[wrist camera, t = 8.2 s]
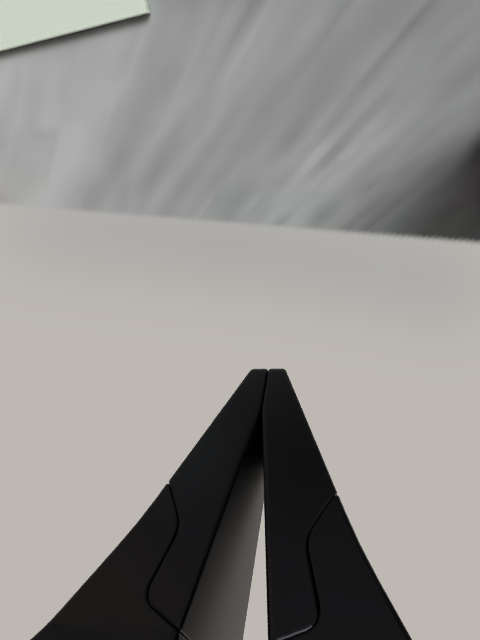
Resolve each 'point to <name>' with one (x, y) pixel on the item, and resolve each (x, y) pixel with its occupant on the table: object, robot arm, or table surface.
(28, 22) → the mat
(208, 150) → the table surface
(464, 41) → the table surface
